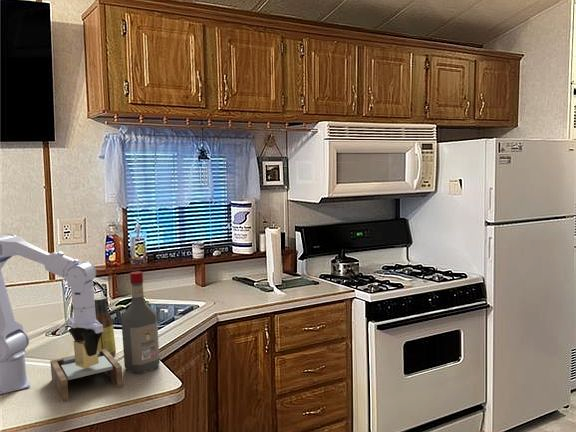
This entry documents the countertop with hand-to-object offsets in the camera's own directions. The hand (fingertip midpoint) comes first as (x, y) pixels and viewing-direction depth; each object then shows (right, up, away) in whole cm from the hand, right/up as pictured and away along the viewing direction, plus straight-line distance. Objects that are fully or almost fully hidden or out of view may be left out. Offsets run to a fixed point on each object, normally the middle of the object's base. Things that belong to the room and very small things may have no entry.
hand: (87, 353), depth 147 cm
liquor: (+11, -9, +16) cm, 21 cm away
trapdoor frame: (-2, -10, +5) cm, 11 cm away
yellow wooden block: (0, -3, 0) cm, 3 cm away
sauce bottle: (-4, -8, +26) cm, 28 cm away
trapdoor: (-2, -6, +4) cm, 8 cm away
